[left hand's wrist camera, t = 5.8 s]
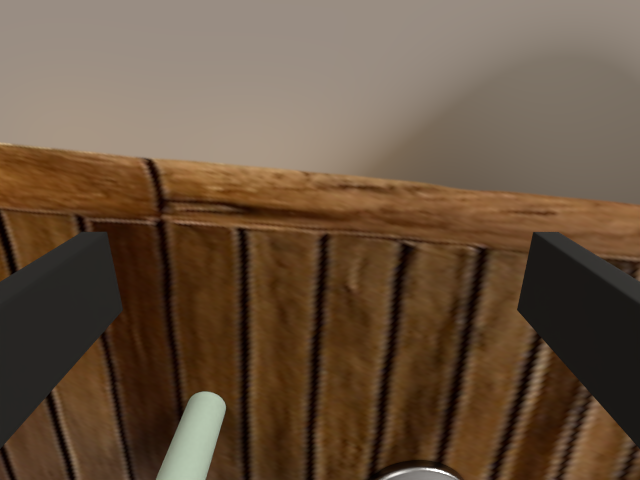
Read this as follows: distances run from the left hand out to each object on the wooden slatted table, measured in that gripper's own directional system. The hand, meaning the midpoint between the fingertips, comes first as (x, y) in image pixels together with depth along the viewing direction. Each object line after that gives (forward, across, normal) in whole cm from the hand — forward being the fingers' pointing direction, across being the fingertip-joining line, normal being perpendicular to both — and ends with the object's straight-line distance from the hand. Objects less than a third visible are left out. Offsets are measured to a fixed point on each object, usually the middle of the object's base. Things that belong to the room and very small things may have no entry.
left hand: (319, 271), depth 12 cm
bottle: (+28, +14, +32) cm, 45 cm away
